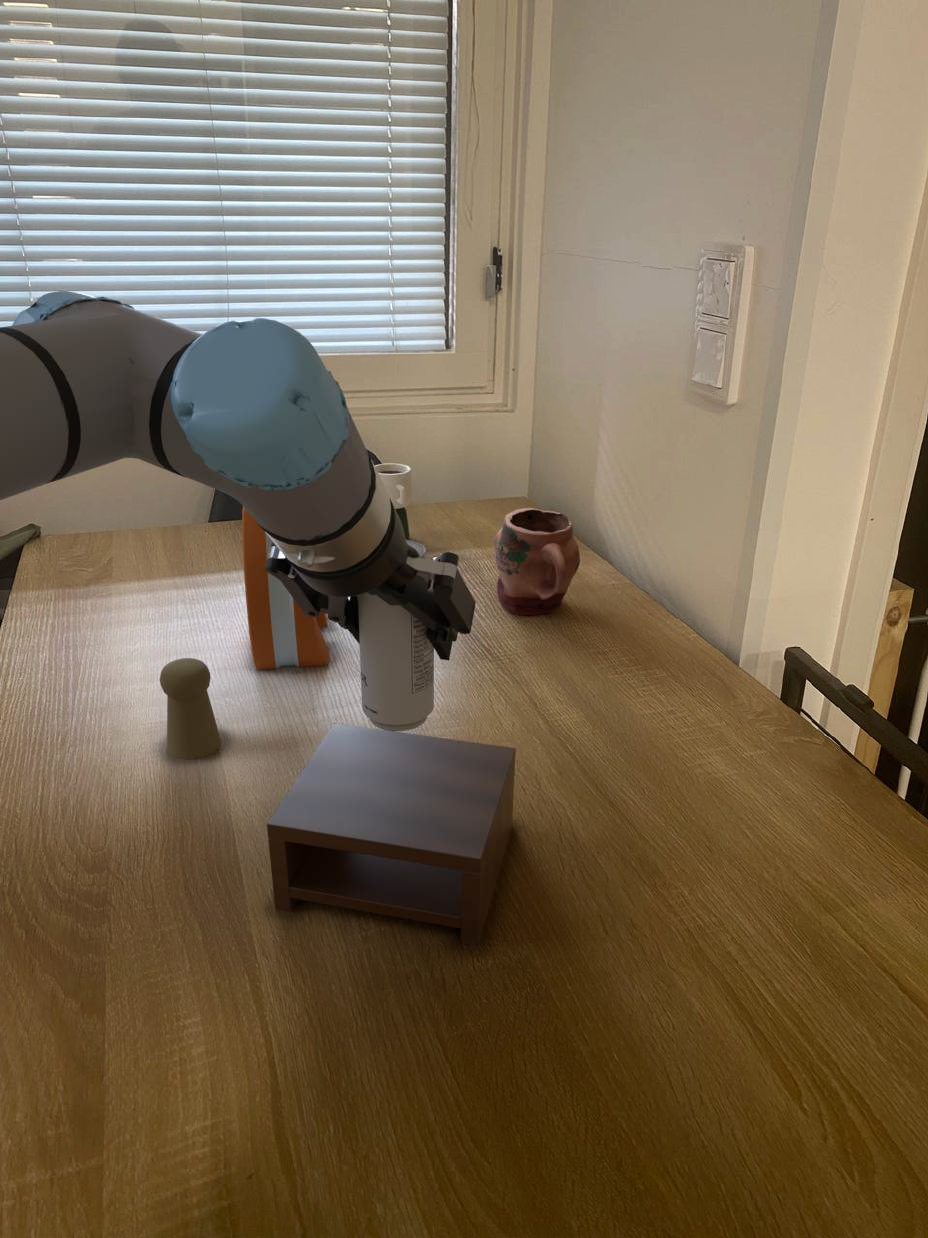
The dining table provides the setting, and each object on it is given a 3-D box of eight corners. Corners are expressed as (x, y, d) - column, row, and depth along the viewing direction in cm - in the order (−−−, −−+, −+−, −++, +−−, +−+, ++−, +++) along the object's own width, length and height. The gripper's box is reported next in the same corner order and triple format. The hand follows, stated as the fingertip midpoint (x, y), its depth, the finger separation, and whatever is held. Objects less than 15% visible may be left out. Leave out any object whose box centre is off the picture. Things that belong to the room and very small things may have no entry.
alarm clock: (333, 681, 116) (323, 512, 106) (254, 686, 114) (237, 516, 105) (327, 608, 136) (319, 460, 126) (260, 612, 134) (246, 462, 124)
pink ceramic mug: (603, 629, 131) (611, 538, 125) (526, 642, 127) (531, 549, 121) (541, 577, 148) (546, 495, 141) (472, 587, 143) (473, 503, 137)
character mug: (361, 532, 165) (359, 463, 159) (397, 527, 168) (396, 458, 162) (386, 552, 156) (384, 479, 151) (423, 546, 159) (422, 474, 154)
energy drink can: (378, 693, 80) (373, 532, 74) (443, 704, 79) (443, 541, 72) (351, 728, 75) (343, 558, 68) (420, 740, 73) (418, 568, 67)
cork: (220, 732, 105) (210, 647, 100) (225, 761, 100) (214, 673, 95) (165, 740, 103) (153, 655, 98) (167, 770, 98) (154, 681, 93)
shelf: (478, 954, 75) (480, 859, 71) (275, 916, 79) (266, 824, 75) (511, 833, 90) (515, 747, 85) (338, 805, 93) (334, 722, 89)
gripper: (177, 561, 57) (294, 668, 78) (474, 592, 53) (512, 696, 75) (207, 456, 59) (313, 588, 81) (494, 479, 56) (525, 611, 77)
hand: (409, 640), depth 78 cm, fingers closed on energy drink can, 6 cm apart
